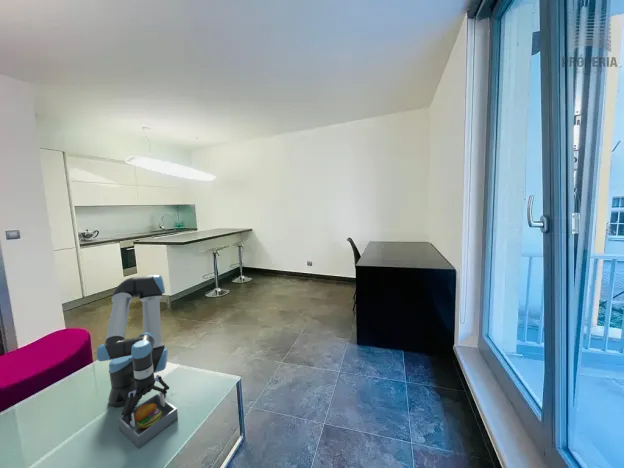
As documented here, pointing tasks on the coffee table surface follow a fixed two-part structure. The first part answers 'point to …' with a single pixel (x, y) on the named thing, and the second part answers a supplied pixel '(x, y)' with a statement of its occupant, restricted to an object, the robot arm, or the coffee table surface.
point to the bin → (144, 437)
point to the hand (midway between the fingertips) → (148, 415)
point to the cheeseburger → (147, 416)
